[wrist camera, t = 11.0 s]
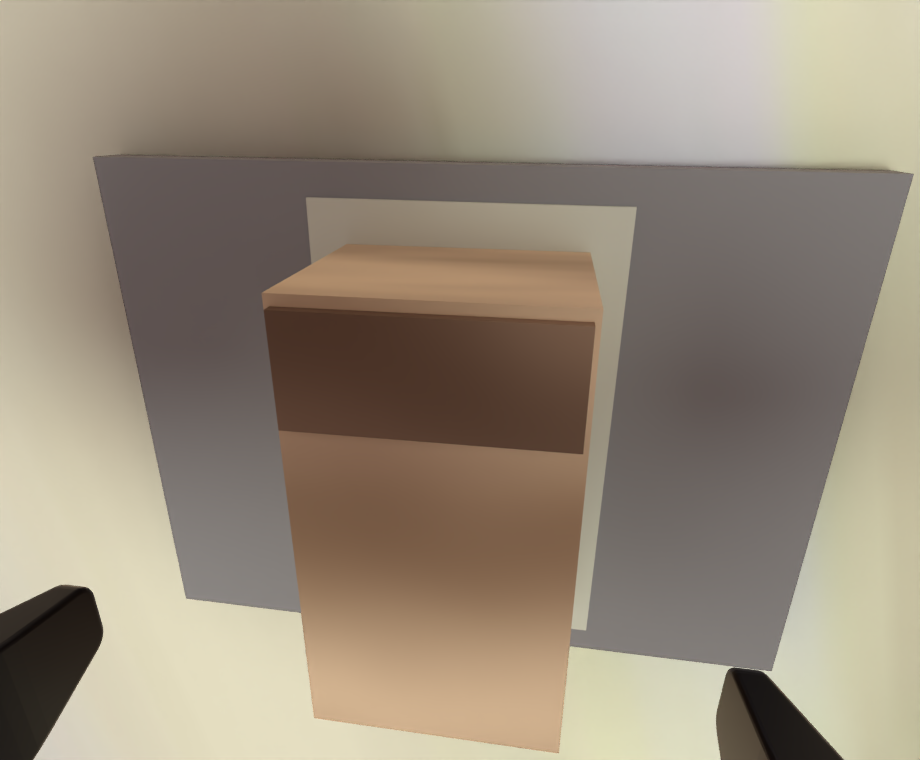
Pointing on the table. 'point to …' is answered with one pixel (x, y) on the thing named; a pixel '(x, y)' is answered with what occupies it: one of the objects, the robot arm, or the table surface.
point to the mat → (618, 374)
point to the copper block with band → (437, 480)
